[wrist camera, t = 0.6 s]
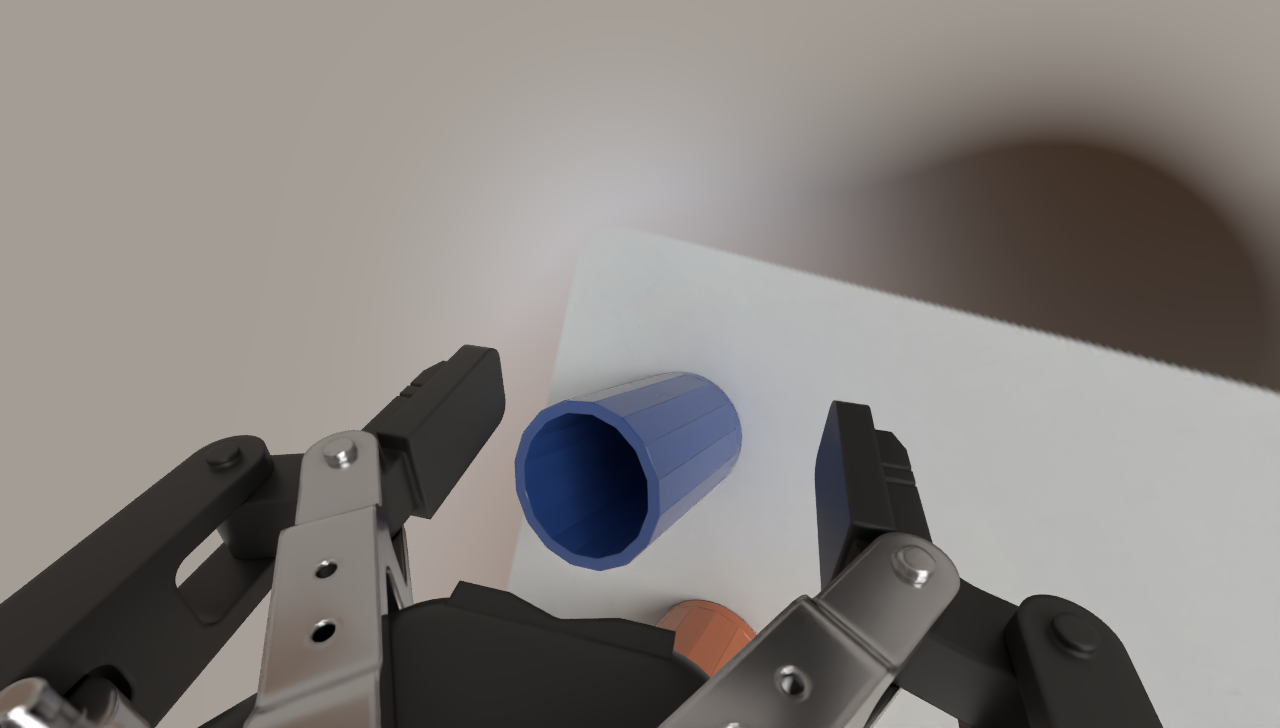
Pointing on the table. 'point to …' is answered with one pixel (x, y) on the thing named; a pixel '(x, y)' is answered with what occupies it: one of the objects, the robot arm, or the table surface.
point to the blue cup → (624, 465)
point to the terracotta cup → (707, 633)
